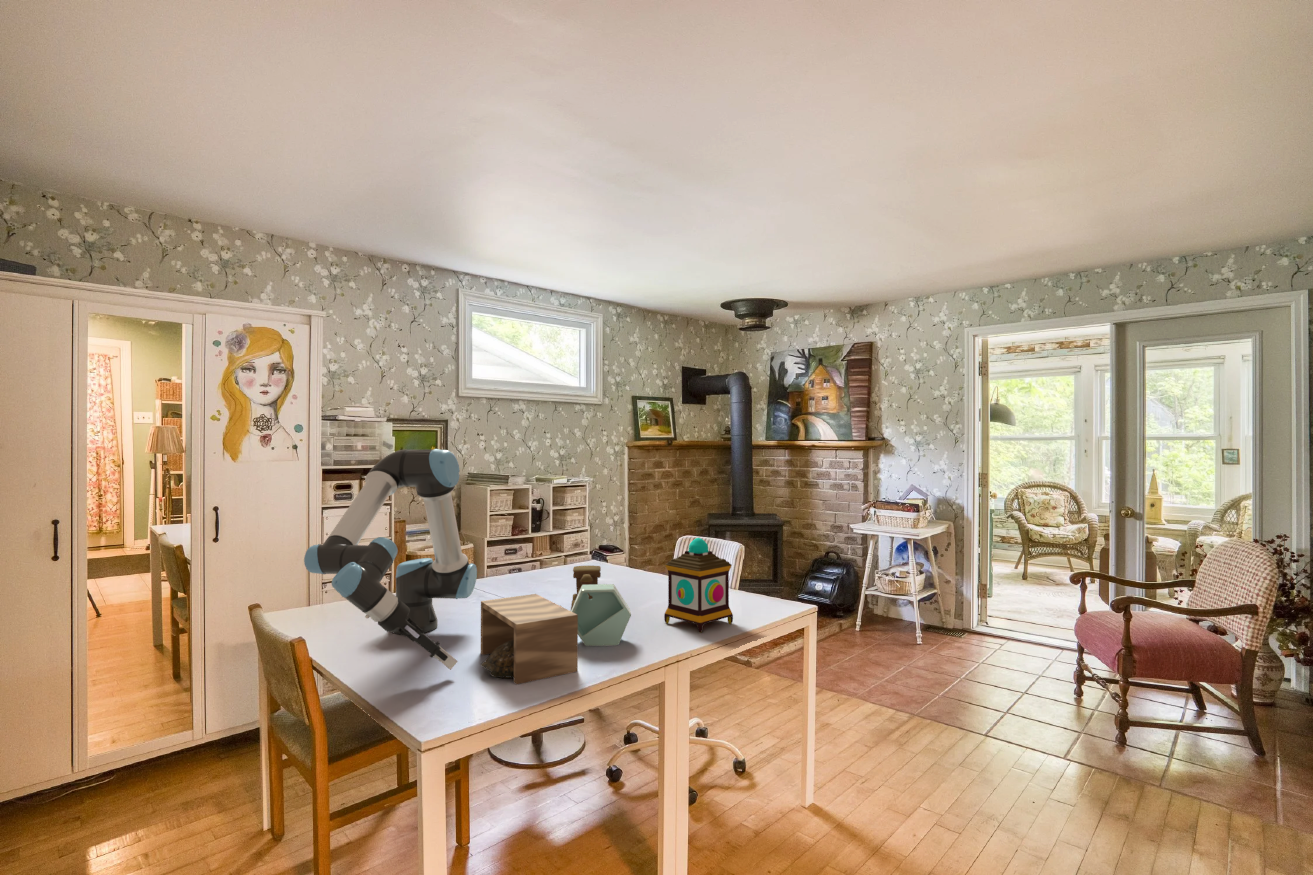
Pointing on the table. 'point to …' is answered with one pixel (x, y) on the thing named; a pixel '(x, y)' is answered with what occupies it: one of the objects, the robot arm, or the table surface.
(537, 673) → the walnut shelf
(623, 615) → the planter
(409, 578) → the robot arm
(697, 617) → the decorative lantern
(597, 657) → the table surface
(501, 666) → the turtle shell
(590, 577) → the wooden toy train
